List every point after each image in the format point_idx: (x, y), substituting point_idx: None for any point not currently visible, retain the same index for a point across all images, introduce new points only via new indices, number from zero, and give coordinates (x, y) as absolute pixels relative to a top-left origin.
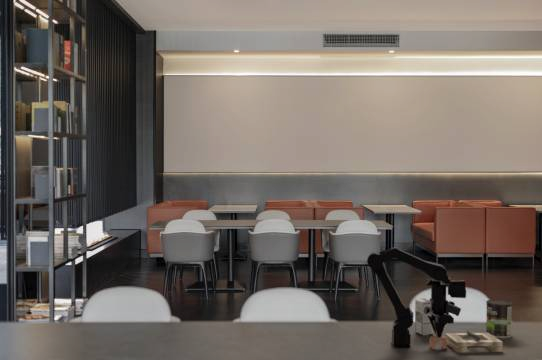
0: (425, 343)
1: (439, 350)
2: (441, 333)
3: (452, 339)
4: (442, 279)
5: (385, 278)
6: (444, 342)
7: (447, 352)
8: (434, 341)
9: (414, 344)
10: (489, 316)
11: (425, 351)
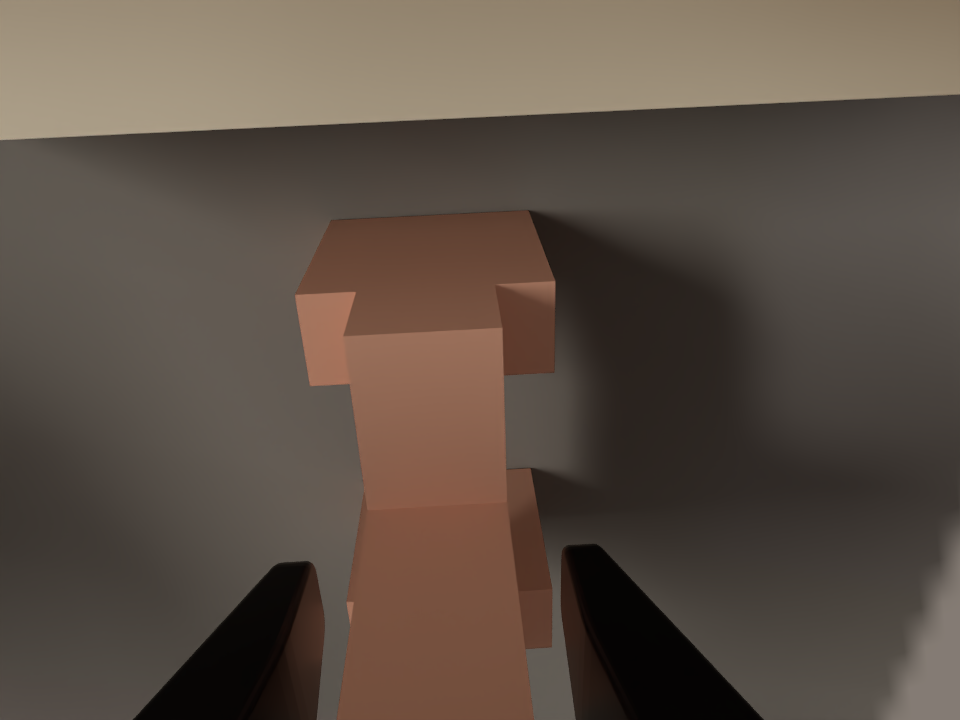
0: (105, 548)
1: (647, 406)
2: (683, 657)
3: (631, 108)
4: None
5: None
6: (551, 340)
7: (829, 280)
8: (549, 594)
9: None
10: None
11: None
